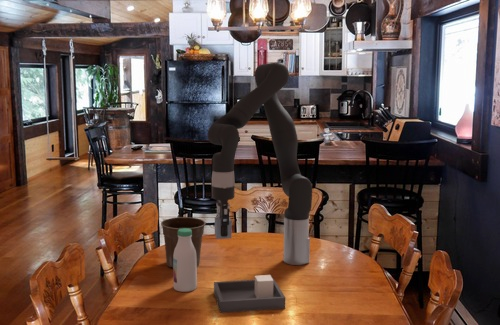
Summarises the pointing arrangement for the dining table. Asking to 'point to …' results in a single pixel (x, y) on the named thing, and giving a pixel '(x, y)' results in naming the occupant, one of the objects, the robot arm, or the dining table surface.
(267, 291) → the cream block
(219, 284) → the dark grey tray
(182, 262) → the milk bottle
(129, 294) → the dining table surface
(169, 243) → the plant pot
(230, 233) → the slate blue block
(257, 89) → the robot arm
